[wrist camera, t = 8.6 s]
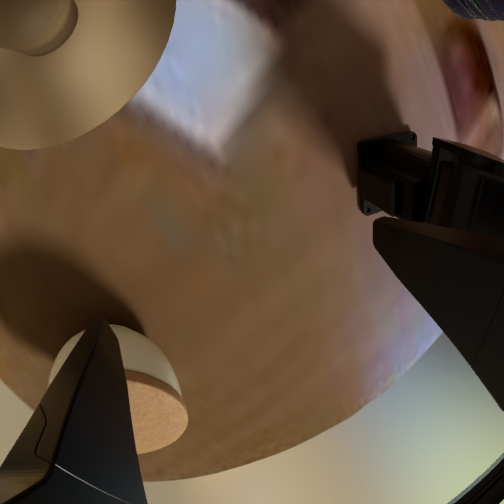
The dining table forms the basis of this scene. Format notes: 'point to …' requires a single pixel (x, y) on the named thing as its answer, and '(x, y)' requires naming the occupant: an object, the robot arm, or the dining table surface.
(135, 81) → the lid
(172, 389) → the lidded jar
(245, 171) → the dining table surface
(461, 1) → the storage jar
